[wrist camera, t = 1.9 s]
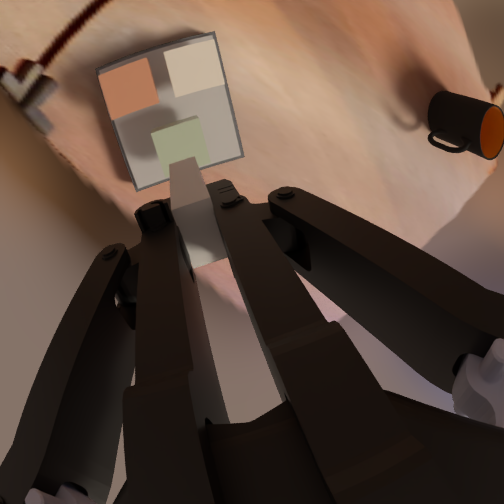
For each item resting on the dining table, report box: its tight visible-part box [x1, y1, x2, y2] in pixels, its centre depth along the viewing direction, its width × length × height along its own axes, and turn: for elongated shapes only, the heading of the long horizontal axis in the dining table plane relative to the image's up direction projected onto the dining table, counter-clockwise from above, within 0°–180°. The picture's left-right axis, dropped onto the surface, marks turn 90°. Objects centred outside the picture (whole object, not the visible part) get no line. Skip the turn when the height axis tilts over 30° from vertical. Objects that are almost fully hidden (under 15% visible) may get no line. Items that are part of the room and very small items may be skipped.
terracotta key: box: [98, 57, 160, 120], centre depth 21 cm, size 4×4×2 cm
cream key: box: [163, 39, 225, 97], centre depth 22 cm, size 4×4×2 cm
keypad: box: [95, 31, 245, 192], centre depth 27 cm, size 14×12×3 cm
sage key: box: [151, 115, 211, 178], centre depth 25 cm, size 4×4×2 cm
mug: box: [428, 91, 504, 160], centre depth 33 cm, size 8×12×10 cm
